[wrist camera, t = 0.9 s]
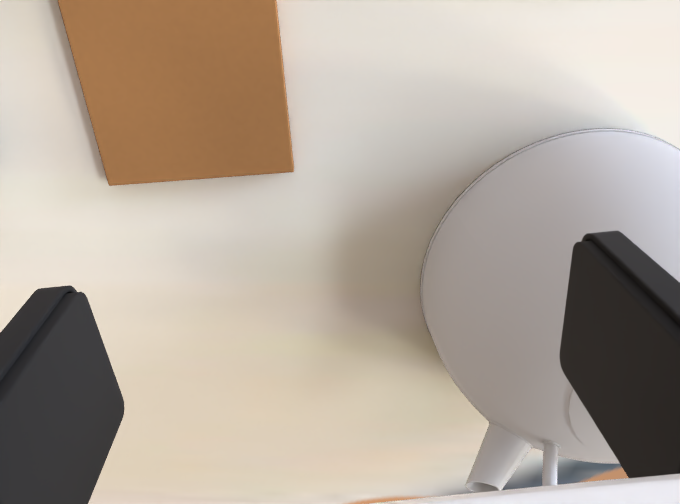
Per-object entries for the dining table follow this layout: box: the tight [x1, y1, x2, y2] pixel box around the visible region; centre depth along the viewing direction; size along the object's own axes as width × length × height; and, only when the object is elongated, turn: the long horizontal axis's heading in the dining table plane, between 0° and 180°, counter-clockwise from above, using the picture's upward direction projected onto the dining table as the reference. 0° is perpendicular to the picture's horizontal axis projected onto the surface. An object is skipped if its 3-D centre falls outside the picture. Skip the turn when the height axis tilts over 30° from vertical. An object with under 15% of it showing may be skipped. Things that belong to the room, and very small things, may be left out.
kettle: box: [420, 129, 680, 493], centre depth 32 cm, size 25×23×23 cm
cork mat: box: [58, 0, 294, 186], centre depth 31 cm, size 20×12×1 cm, turn 3°
